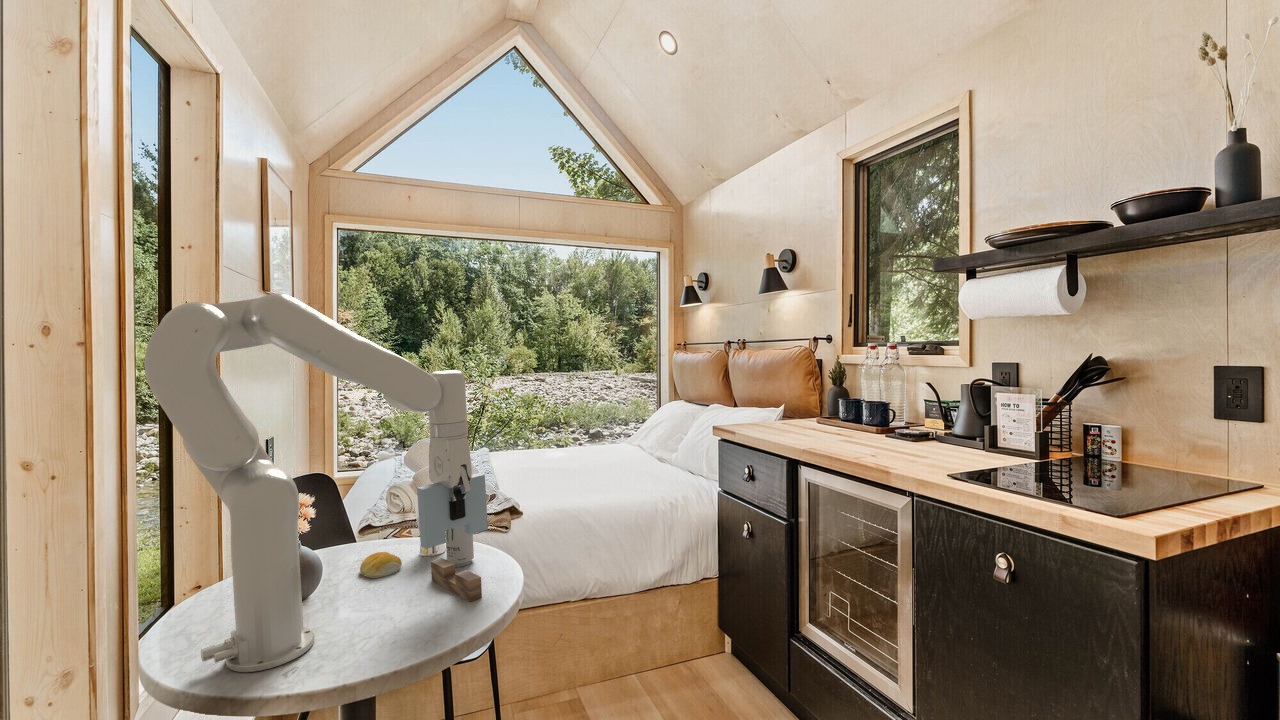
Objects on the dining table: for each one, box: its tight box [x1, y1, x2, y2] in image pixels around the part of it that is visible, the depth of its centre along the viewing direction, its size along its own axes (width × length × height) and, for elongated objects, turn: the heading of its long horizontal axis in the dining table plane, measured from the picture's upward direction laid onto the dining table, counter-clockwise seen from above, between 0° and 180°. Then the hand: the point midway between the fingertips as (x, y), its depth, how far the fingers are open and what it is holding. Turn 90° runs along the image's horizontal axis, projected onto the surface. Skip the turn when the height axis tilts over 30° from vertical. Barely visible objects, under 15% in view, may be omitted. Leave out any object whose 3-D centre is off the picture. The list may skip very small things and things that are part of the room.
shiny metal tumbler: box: [414, 492, 446, 557], centre depth 141 cm, size 7×7×15 cm
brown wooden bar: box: [430, 557, 483, 603], centre depth 120 cm, size 16×3×4 cm, turn 47°
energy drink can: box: [445, 525, 475, 568], centre depth 134 cm, size 6×6×15 cm
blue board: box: [416, 472, 489, 549], centre depth 119 cm, size 14×2×12 cm, turn 137°
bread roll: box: [359, 551, 403, 579], centre depth 131 cm, size 8×9×4 cm
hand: (454, 516), depth 119 cm, fingers closed on blue board, 2 cm apart
